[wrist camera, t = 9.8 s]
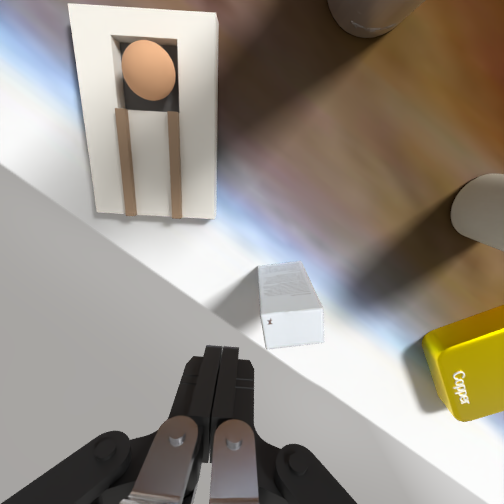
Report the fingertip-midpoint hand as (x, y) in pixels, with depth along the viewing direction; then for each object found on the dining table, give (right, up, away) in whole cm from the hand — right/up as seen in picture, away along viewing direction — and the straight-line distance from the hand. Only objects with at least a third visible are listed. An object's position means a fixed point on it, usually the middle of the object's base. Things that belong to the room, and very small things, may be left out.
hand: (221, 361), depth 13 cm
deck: (-10, +19, +19) cm, 29 cm away
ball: (-9, +23, +14) cm, 28 cm away
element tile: (+36, -10, +30) cm, 48 cm away
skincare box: (+5, +2, +25) cm, 26 cm away
